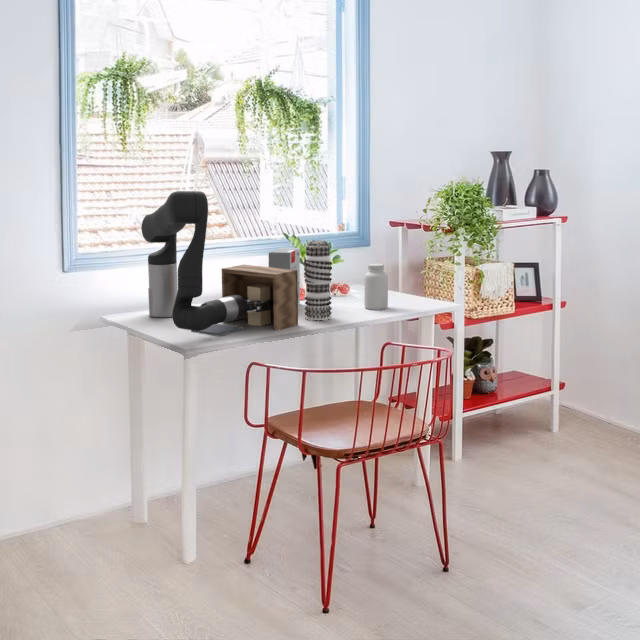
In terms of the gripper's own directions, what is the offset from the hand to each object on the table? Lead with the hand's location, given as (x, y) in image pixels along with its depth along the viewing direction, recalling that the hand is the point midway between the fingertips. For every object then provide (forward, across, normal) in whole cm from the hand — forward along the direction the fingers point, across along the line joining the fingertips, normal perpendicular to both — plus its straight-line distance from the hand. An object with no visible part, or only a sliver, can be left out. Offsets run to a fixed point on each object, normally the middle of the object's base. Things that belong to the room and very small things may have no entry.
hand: (262, 301), depth 300 cm
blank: (-2, 0, +7) cm, 7 cm away
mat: (-17, +4, +7) cm, 19 cm away
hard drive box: (+25, +10, +7) cm, 28 cm away
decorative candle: (+16, -10, +7) cm, 20 cm away
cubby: (-2, 0, +7) cm, 7 cm away
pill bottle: (+42, -16, +7) cm, 45 cm away
